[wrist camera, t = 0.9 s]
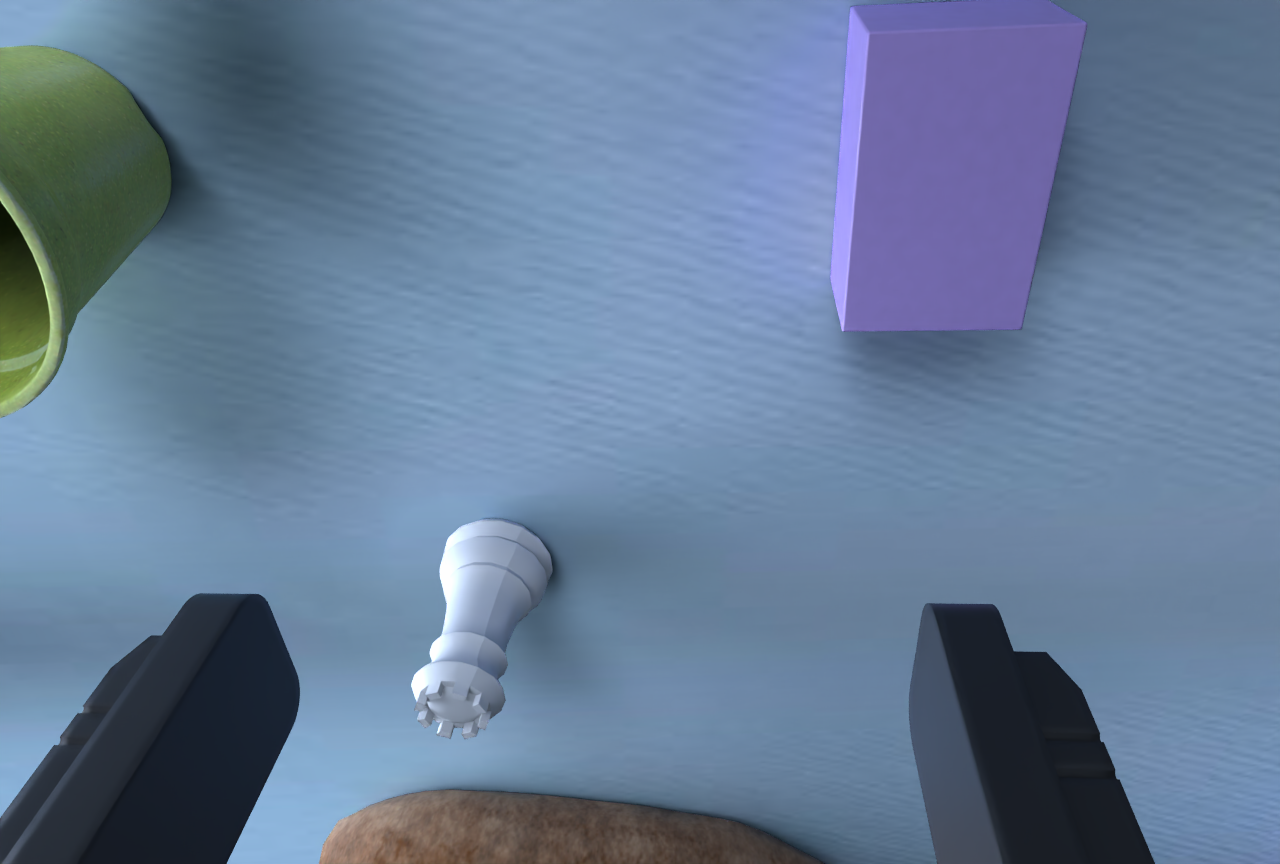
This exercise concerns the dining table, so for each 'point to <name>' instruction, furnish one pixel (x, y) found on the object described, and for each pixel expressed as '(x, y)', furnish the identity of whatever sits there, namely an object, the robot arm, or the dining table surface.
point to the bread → (542, 833)
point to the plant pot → (65, 203)
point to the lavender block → (948, 160)
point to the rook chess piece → (479, 622)
